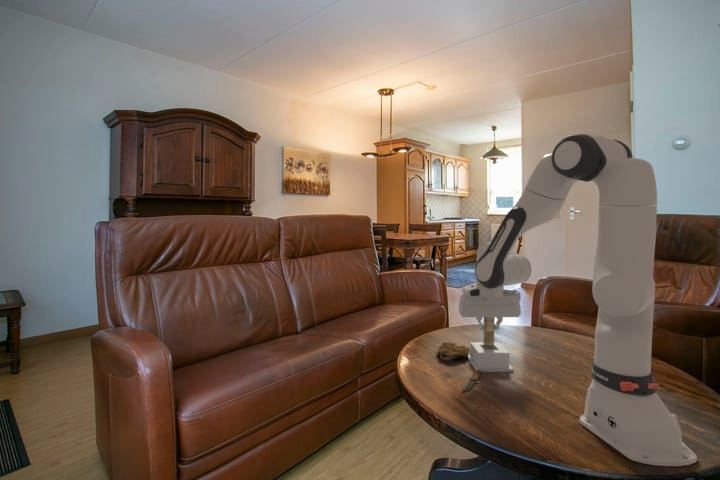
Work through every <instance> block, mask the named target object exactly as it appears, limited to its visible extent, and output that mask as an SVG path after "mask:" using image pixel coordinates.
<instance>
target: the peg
mask: <svg viewBox="0 0 720 480" xmlns="http://www.w3.org/2000/svg"><path fill="white" fill-rule="evenodd" d="M483 324H484V325H485V330H483V342H484V347H485V348H488V349H492V348H494V342H495V330H494V324H495V317H483Z"/></svg>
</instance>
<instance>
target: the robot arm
mask: <svg viewBox="0 0 720 480" xmlns="http://www.w3.org/2000/svg"><path fill="white" fill-rule="evenodd" d="M578 181H581V182H585V183H588V182H593V183H594V184H595V185H596V186H597V188H598V195H599V196H598V197H599V198H598V218H597V221H598V222H597V224H598V225H597V244H596V249H595V257H594V266H593V275H592V276H593V277H592V287H591V288H592V290H591V291H592V297H593V300H594V302H595V304H596V305H597V307H598V311H597V318H596V325H595V331H594V357H593V358H594V360H593V361H592V364H591V365H592V366H591V378H592V381H591V383H590V385H589V387H588V388H587V390H586V396H585V403H584V411H583V414H582V415H581V416H580V417H579V421H578V422H579V424H581V425H582V426H583V427H585V428H586V429H588V430H589V431H590V432H592V433H593V434H595V435H596V436H597V437H599V438H600V439H601V440H602V441H603V442H605V443H607V444H608V445H610V446H611V447H613V448H614V449H615V450H617V451H618V452H619V453H620V454H622V455H623V456H625V457H626V458H628V459H629V460H631V461H633V462H637V463H640V464H644V465H645V464H646V465H649V466H652V465H653V466H661V467H683V466H685V465H686V466H691V465H694V464H695V463H697V462H698V456H697V454H696V453H695V452H694V451H692V450H691V448H690V447H688V446H687V445H686V444H685V443H684V442H683V438H682V436H683V435H682V430H681V426H680V424H679V419H678V417H677V415H676V414H675V413H671V412H670V411H669V409H668V407H667V406H666V405H665V403H664V402H663V400H662V399H661V398H660V396H659V395H658V393H657V389H660V387H659V386H660V383H657V382H656V381H655V377H654V374H653V372H652V371H651V370H652V369H651V368H652V345H653V344H652V341H653V340H652V339H653V328H654V327H653V326H654V315H655V314H654V312H655V295H656V282H655V279H654V268H655V267H654V264H655V255H656V254H655V252H656V237H657V217H658V216H657V215H658V212H657V211H658V209H657V208H658V191H657V183H656V181H657V180H656V175H655V171H654V167H653V165H652V164H651V163H650V162H649V161H647V160H645V159H641V158H637V157H633V153H632V150H631V148H630V147H629V146H628V145H627V144H625V143H624V142H622V141H620V140H617V139H611V138H609V137H605V136H602V135H595V134H586V133H578V134H577V133H575V134H571V135H568V136H566V137H564V138H562V139H560V140H559V142H558V143H556V145H555V146H554V148H553V150H552V153H548V154H545V155H544V156H542V157H541V159H540V160H539V161H538V163H537V164H536V166H535V168H534V169H533V171H532V173H531V174H530V177H529V178H528V181H527V183H526V185H525V187H524V189H523V192H522V193H521V196H520V197H519V199H518V201H517V202H516V203H515V204H514V206H513V207H512V208H511V209H510V210H509V211H508V212H507V214H506V215H505V217H504V218H503V219H502V221H501V223H500V224H499V226H498V228H497V230H496V232H495V234H494V236H493V238H492V239H491V241H490V242H485V243H481V244H479V246H478V248H477V252H476V263H475V266H474V275H475V277H476V278H475V279H476V280H475V283H472V284H468V285H466V286H463V287H462V288H461V289H462V290H461V291H462V293H463V294H461V295H460V298H459V303H458V314H459V315H460V316H461V317H463V318H475V319H476V320H475V321H477V323H478V324H479V325H478V328H479V330H480V331H484V330H485V325H484V323H482V319H483V318H484V317H494V318H496V319H497V320H496V322H495V323H494V331H500V325H501V324H502V323H503V320H504V319H503V318H519V317H520V316H521V315H522V313H521V312H522V311H521V302H520V301H521V297H522V295H521V293H520V291H518V290H516V289H506V288H505V289H504V287H505V286H512V285H517V284H522V283H525V282H527V281H528V280H529V278H530V277H531V274H532V267H531V266H532V265H531V263H530V261H529V259H528V258H527V257H526V256H525V255H524V254H520V253H517V252H514V251H512V250H513V248H514V247H515V245H516V243H517V242H518V240H519V238H520V237H521V236H522V235H524V234H525V233H527V232H528V231H530V230H532V229H535V228H537V227H539V226H542V225H544V224H547V223H549V222H551V221H552V220H554V219H555V217H556V216H557V215H558V214H559V212H560V211H561V210H562V208H563V206H564V204H565V201H566V200H567V197H568V196H569V192H570V191H571V188H572V187H573V186H574V185H575V183H577V182H578ZM696 461H697V462H696ZM693 463H694V464H693ZM690 464H691V465H690ZM686 466H685V467H686Z"/></svg>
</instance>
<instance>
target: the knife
mask: <svg viewBox="0 0 720 480" xmlns="http://www.w3.org/2000/svg"><path fill="white" fill-rule="evenodd" d="M481 375H483V372H482V371H476V370H475V371H474V373H472V375H471V377H470V379H469V381H468V382H467V384H466V386H465V387H464V388H463V390H462V392H461V393H464V392H469V390H471V389H472V388H473V387H474V385H476V383H477V384H480V381H478V380H479V379H480V376H481Z"/></svg>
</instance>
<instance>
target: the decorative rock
mask: <svg viewBox="0 0 720 480" xmlns="http://www.w3.org/2000/svg"><path fill="white" fill-rule="evenodd" d="M436 354H438V355H439V357H440V359H441V360H442V361H443V360H445V361H444V362H453V361H454V360H455V359H460V358H462V357H467V355H468V354H470V347H467V346H465V345H463V344H459V343H455V342H448V341H446V342H445V341H444V342H443V343H442V344H441V345H439V346H438V349H437V350H436Z"/></svg>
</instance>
